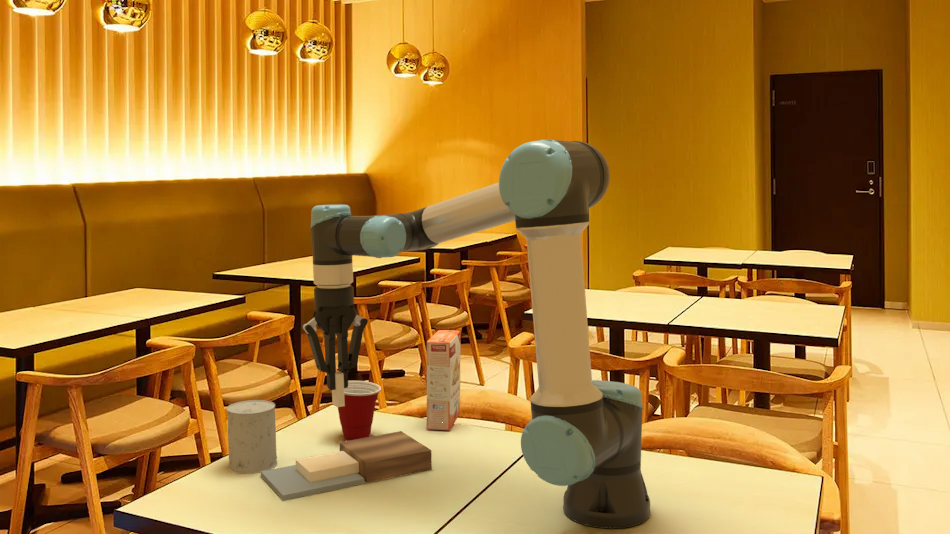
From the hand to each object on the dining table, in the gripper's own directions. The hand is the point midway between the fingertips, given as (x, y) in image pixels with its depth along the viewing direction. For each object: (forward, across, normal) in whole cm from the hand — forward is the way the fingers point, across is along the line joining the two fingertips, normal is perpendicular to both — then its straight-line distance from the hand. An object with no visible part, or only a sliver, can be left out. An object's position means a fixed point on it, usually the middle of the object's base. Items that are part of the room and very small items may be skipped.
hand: (338, 405), depth 167 cm
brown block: (+14, -10, -1) cm, 17 cm away
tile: (+13, +2, -1) cm, 13 cm away
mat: (+14, +6, -1) cm, 15 cm away
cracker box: (+14, -34, -20) cm, 42 cm away
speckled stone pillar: (+14, +13, -15) cm, 24 cm away
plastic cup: (+14, -12, -20) cm, 27 cm away
